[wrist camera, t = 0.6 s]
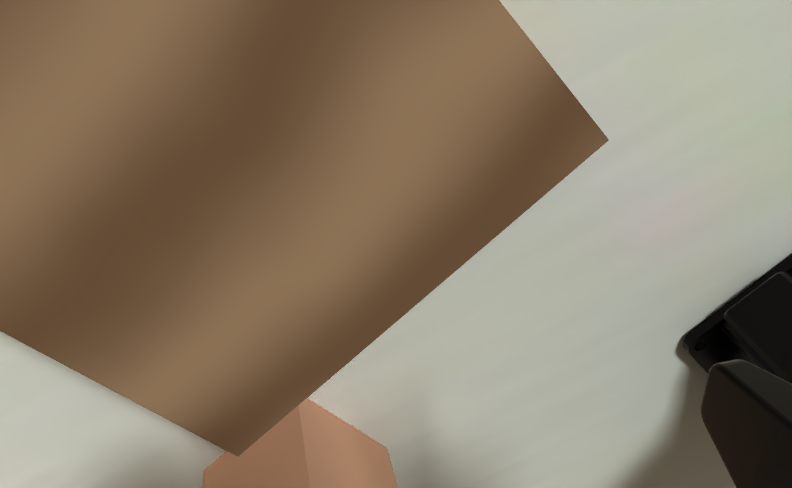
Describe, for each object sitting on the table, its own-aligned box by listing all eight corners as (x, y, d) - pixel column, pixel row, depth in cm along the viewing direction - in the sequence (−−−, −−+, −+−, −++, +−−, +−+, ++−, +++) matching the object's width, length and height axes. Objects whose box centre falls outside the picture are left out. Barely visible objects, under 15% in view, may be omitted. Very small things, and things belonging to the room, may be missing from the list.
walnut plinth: (548, 87, 22) (608, 139, 19) (234, 368, 25) (238, 456, 22) (175, -376, 15) (166, -424, 11) (-203, 101, 18) (-297, 173, 14)
